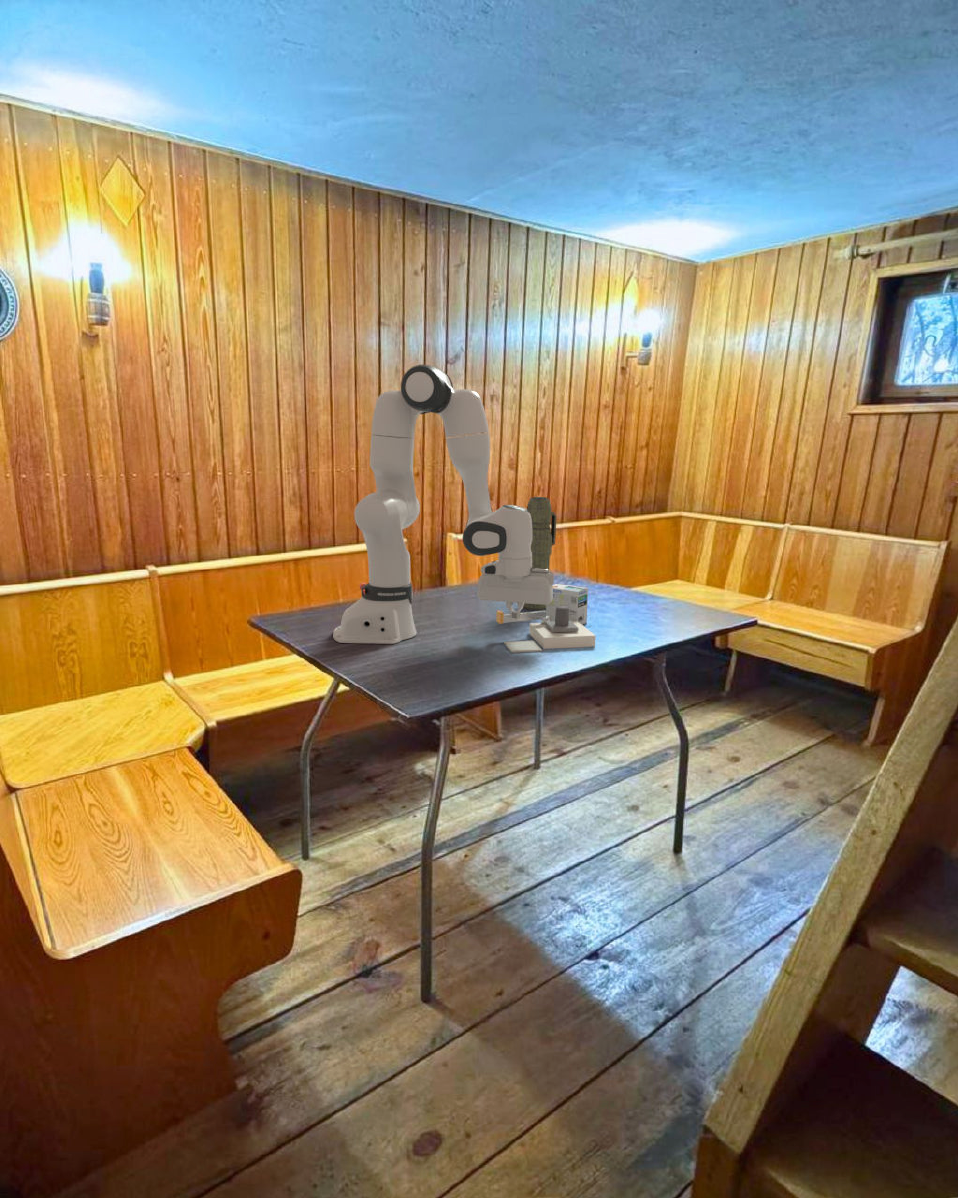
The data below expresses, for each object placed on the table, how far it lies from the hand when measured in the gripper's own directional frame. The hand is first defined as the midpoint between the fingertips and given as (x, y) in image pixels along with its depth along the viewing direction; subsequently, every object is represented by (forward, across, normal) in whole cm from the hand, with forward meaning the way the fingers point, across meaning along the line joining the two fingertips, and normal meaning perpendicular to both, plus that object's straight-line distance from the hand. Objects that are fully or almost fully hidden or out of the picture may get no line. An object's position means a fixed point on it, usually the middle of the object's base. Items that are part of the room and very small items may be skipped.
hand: (514, 618), depth 182 cm
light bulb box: (+7, -9, -23) cm, 25 cm away
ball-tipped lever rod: (+3, -1, -4) cm, 5 cm away
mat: (+6, -4, +6) cm, 9 cm away
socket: (+6, -12, -4) cm, 14 cm away
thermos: (+6, +4, -37) cm, 38 cm away
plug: (+6, -12, -4) cm, 14 cm away
